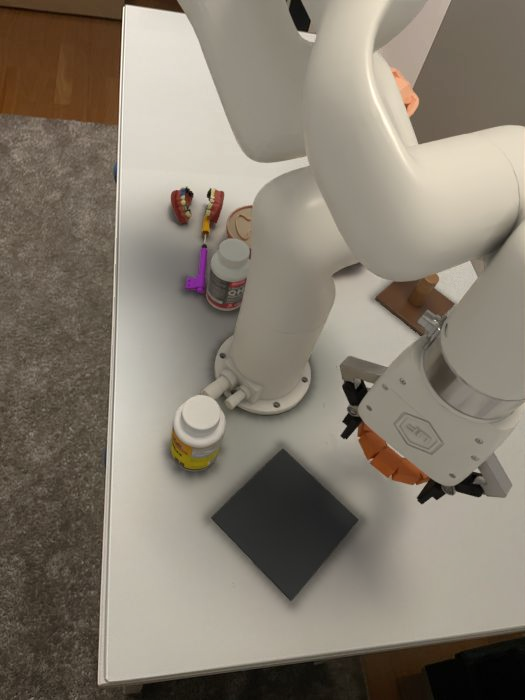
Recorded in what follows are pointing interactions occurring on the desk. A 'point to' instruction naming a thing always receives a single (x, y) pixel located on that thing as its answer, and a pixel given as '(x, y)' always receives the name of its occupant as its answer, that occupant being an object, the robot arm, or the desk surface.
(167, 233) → the desk surface
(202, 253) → the purple and orange tool
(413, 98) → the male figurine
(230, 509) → the mat
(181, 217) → the dental model
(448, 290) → the desk surface
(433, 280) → the ring post
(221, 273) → the pill bottle
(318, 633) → the desk surface
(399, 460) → the ring
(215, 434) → the supplement bottle
